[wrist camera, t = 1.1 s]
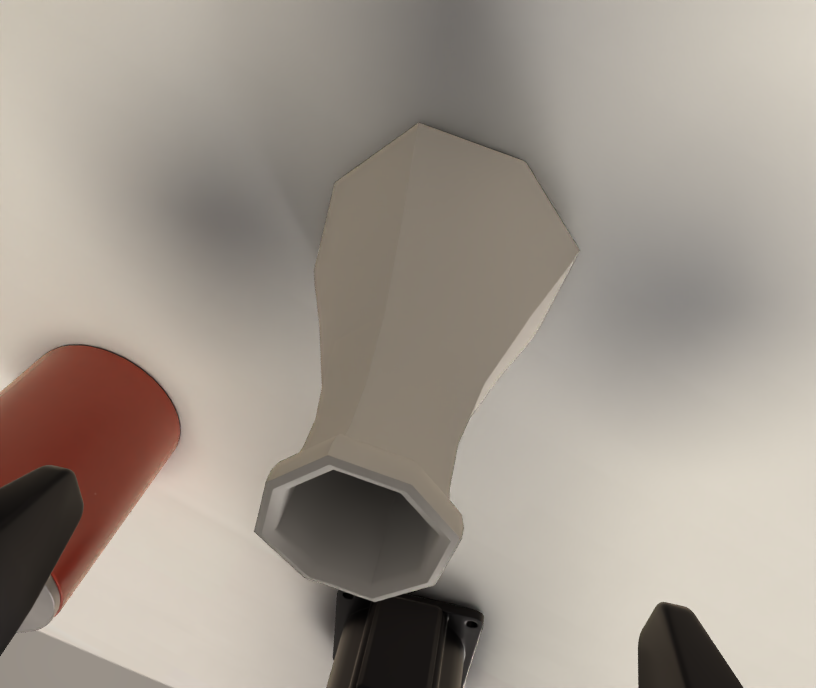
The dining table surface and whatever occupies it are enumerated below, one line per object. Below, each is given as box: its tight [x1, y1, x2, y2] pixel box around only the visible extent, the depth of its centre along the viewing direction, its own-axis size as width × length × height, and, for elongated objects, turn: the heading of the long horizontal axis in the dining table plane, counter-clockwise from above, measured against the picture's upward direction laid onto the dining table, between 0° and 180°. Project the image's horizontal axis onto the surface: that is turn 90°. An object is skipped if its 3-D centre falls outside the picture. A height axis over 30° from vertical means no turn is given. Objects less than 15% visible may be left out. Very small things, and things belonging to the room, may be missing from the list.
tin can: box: [0, 345, 180, 633], centre depth 21 cm, size 6×6×8 cm
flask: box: [254, 123, 580, 602], centre depth 13 cm, size 7×7×10 cm
